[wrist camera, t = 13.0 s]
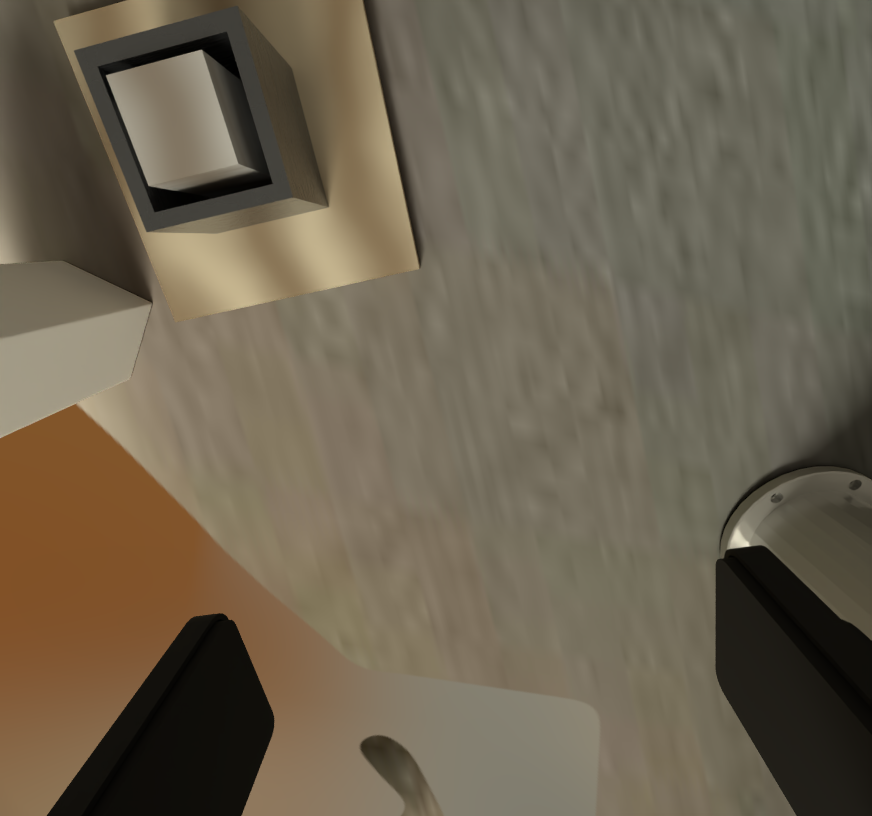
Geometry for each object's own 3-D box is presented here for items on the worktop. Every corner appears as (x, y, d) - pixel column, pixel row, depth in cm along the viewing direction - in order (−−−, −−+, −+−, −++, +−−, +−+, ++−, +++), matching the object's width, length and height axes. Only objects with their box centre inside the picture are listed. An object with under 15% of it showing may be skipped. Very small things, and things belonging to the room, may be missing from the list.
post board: (354, -45, 24) (303, -212, 15) (420, 267, 29) (411, 280, 21) (74, 33, 25) (-125, -79, 16) (187, 318, 31) (84, 351, 22)
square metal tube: (291, 68, 24) (237, 5, 18) (328, 207, 27) (293, 197, 20) (169, 99, 25) (73, 50, 18) (216, 233, 27) (146, 232, 21)
